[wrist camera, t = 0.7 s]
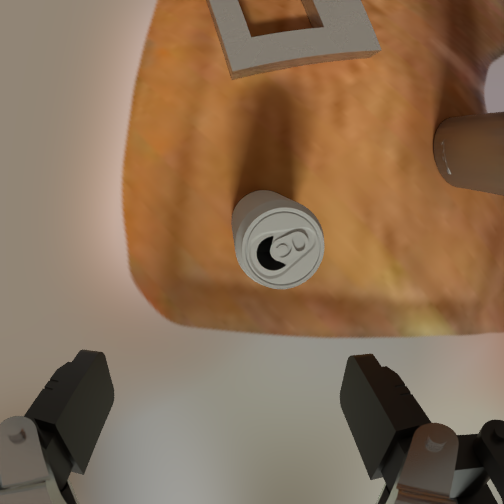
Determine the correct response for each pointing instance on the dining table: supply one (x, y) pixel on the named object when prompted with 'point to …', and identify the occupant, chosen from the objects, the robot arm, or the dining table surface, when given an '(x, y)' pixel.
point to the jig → (294, 37)
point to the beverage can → (276, 239)
